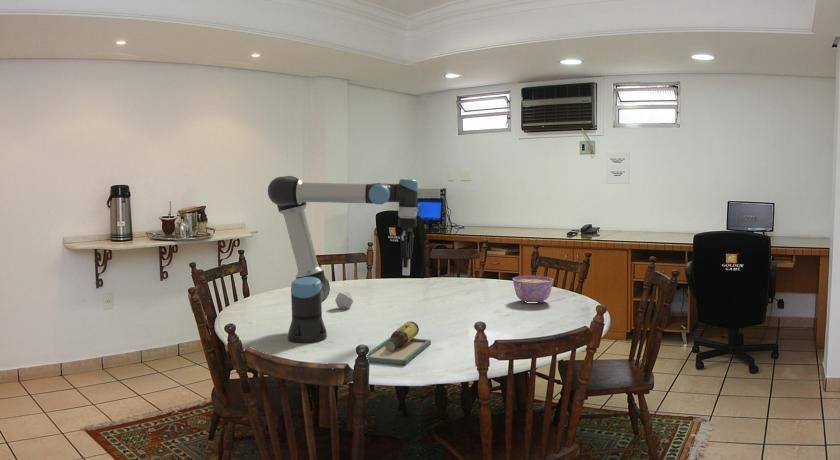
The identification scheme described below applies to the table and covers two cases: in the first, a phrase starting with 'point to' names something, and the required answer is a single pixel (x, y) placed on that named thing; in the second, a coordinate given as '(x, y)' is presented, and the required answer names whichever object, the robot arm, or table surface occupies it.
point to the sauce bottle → (402, 336)
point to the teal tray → (398, 352)
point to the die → (344, 300)
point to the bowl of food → (532, 288)
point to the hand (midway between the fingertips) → (406, 275)
